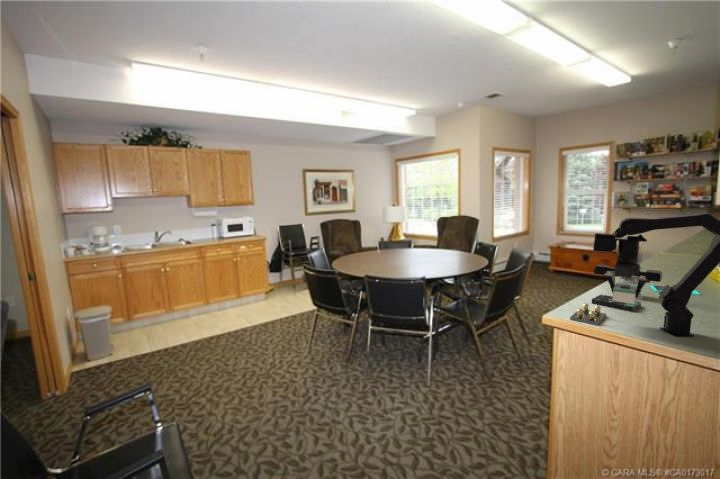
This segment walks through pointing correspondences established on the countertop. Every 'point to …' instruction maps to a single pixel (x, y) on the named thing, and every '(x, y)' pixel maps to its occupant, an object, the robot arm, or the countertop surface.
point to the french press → (632, 282)
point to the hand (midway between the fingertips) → (624, 295)
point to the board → (625, 292)
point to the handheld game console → (660, 288)
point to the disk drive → (615, 303)
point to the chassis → (589, 315)
